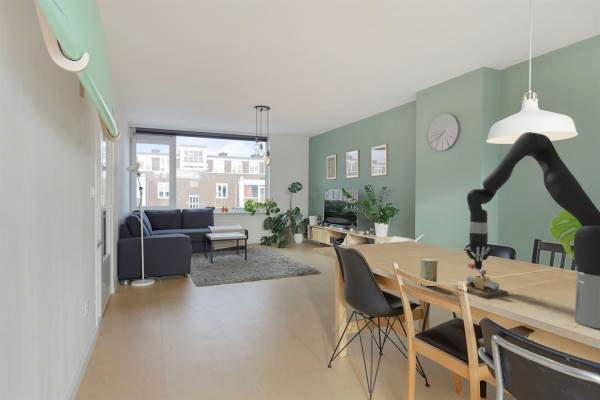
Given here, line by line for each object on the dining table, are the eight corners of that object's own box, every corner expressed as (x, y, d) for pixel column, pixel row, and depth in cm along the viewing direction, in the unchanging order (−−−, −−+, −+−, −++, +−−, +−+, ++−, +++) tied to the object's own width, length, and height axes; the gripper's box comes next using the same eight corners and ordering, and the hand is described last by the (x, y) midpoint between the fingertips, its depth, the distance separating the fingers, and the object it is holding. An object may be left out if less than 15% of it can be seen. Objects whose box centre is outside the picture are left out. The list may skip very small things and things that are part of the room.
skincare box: (425, 287, 152) (426, 260, 152) (419, 284, 156) (420, 258, 156) (437, 286, 154) (438, 260, 153) (431, 283, 158) (431, 258, 158)
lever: (487, 274, 143) (487, 270, 143) (480, 274, 143) (480, 270, 143) (473, 267, 158) (473, 263, 158) (467, 266, 158) (467, 263, 158)
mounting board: (507, 294, 143) (507, 291, 143) (485, 298, 137) (485, 294, 137) (478, 286, 156) (478, 282, 155) (456, 289, 150) (456, 285, 150)
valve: (499, 293, 140) (500, 277, 140) (492, 294, 138) (493, 278, 138) (472, 285, 152) (473, 270, 152) (465, 285, 150) (466, 270, 150)
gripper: (488, 230, 159) (487, 267, 159) (460, 230, 159) (460, 266, 159) (497, 232, 152) (496, 270, 152) (468, 232, 151) (468, 270, 152)
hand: (478, 268), depth 156 cm, fingers closed
